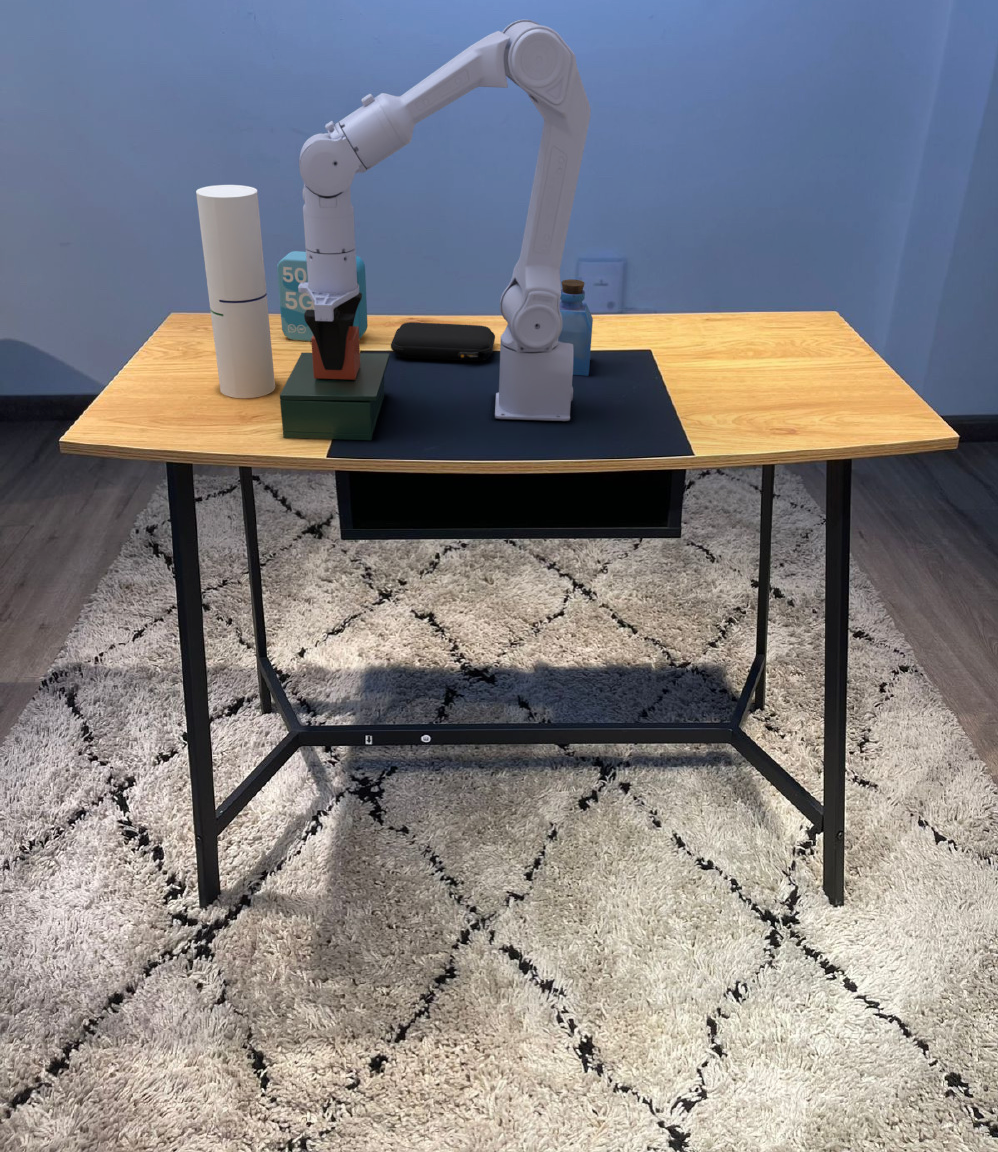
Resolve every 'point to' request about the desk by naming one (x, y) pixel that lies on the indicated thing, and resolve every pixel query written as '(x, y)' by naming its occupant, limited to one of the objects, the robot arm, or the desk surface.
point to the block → (350, 359)
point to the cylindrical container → (237, 289)
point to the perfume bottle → (576, 324)
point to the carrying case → (443, 341)
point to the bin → (331, 418)
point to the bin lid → (336, 381)
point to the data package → (297, 303)
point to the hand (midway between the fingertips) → (337, 360)
